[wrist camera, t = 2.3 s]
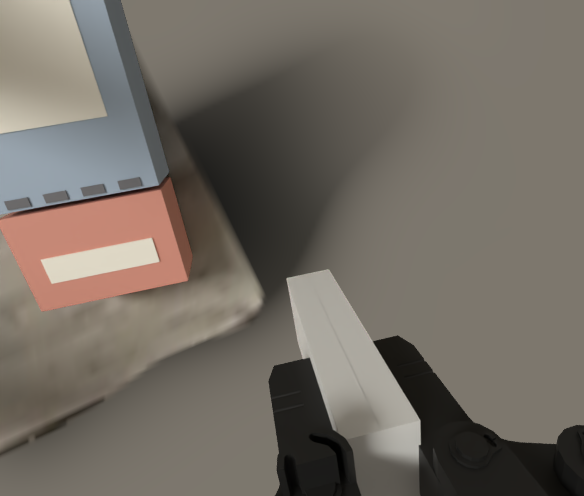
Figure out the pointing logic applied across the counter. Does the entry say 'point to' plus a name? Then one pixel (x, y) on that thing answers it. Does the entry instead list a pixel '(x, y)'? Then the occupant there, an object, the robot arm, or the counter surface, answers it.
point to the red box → (100, 246)
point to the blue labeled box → (72, 105)
